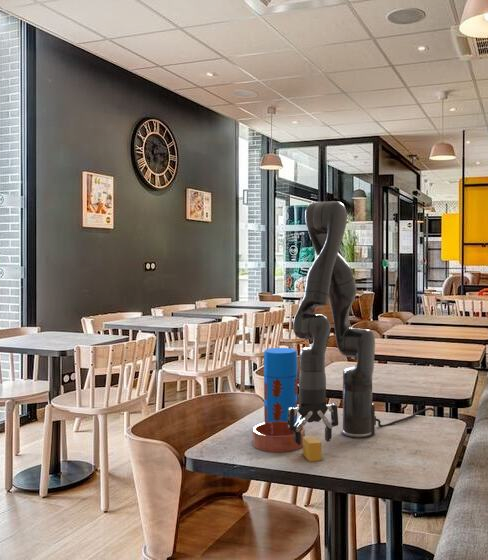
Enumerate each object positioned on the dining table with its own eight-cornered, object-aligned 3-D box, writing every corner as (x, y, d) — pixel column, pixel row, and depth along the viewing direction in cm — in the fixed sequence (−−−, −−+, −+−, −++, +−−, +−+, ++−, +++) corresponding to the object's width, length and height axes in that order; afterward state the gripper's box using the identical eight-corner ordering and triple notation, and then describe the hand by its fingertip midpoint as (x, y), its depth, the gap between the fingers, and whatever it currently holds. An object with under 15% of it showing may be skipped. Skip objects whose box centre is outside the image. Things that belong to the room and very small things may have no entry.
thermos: (293, 431, 192) (292, 353, 190) (260, 429, 194) (260, 352, 192) (300, 422, 202) (299, 348, 201) (269, 420, 204) (268, 347, 203)
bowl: (296, 433, 190) (296, 419, 190) (311, 449, 175) (311, 433, 175) (248, 438, 186) (248, 423, 185) (259, 454, 171) (259, 438, 171)
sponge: (314, 453, 172) (314, 435, 171) (321, 460, 166) (321, 442, 166) (302, 454, 171) (302, 437, 170) (309, 461, 165) (309, 443, 165)
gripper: (291, 390, 162) (292, 449, 163) (341, 386, 166) (341, 444, 167) (284, 384, 169) (285, 440, 170) (332, 380, 173) (332, 435, 174)
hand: (313, 442), depth 169 cm, fingers open, 8 cm apart
